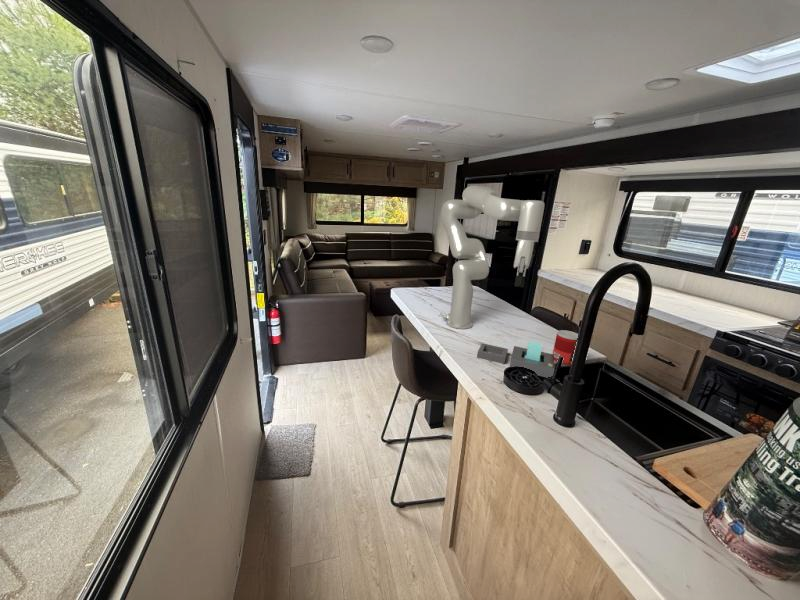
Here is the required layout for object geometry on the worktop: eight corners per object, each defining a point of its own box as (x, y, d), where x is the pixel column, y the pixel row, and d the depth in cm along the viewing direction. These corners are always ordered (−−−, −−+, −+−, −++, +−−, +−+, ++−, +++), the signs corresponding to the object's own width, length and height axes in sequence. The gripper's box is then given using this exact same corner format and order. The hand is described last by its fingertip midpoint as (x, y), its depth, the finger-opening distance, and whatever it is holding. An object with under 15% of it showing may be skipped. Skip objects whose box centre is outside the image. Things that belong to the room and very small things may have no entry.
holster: (476, 357, 116) (477, 351, 116) (481, 348, 124) (482, 343, 123) (504, 364, 112) (505, 357, 112) (507, 354, 120) (507, 348, 119)
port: (509, 368, 109) (511, 356, 108) (512, 355, 120) (514, 344, 119) (552, 379, 104) (555, 366, 103) (551, 364, 114) (554, 353, 113)
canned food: (574, 367, 113) (580, 339, 110) (550, 361, 117) (556, 334, 114) (575, 359, 119) (581, 333, 116) (552, 353, 123) (558, 328, 120)
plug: (522, 367, 111) (527, 344, 109) (523, 362, 115) (527, 340, 112) (538, 370, 109) (543, 347, 107) (539, 365, 113) (543, 343, 110)
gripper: (518, 234, 118) (510, 281, 123) (514, 236, 105) (506, 288, 110) (539, 236, 115) (530, 284, 120) (538, 238, 102) (528, 292, 107)
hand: (518, 286), depth 115 cm, fingers closed
